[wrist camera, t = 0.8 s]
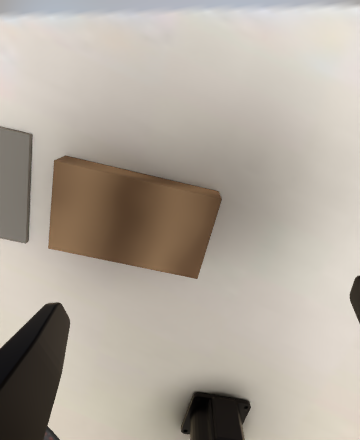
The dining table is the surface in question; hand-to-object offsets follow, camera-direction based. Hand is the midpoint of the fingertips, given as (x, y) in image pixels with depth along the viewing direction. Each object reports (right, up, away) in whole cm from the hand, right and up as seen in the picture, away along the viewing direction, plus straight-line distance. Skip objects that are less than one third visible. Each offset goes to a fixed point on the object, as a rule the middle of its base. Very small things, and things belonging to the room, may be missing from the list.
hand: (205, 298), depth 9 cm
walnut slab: (-4, +3, +14) cm, 15 cm away
